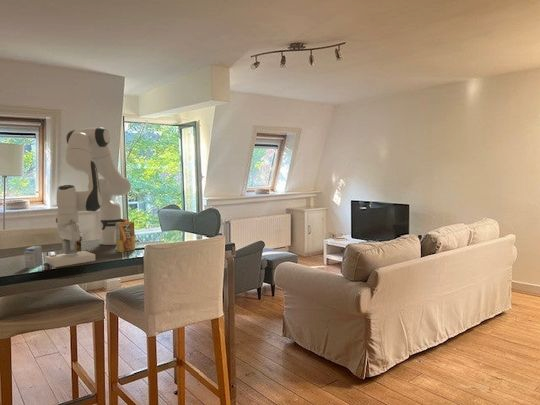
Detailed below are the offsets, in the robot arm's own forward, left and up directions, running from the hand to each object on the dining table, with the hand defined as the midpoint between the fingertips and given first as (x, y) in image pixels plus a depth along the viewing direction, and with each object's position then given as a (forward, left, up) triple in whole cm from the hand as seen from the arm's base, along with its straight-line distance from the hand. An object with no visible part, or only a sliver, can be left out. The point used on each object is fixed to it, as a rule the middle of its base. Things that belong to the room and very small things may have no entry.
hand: (69, 248), depth 202 cm
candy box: (-30, -6, -7) cm, 31 cm away
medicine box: (+15, -3, -7) cm, 16 cm away
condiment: (-8, -21, -7) cm, 23 cm away
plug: (0, 0, -2) cm, 2 cm away
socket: (0, 0, -6) cm, 6 cm away
